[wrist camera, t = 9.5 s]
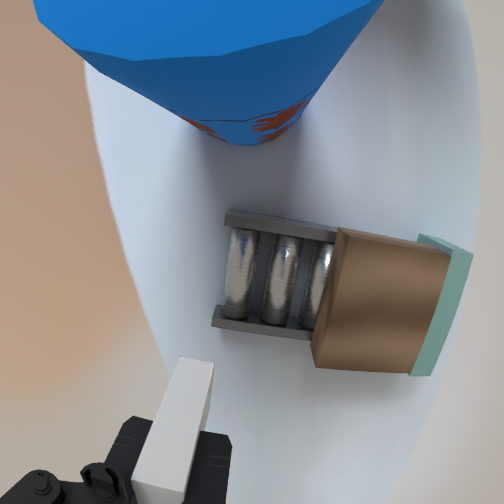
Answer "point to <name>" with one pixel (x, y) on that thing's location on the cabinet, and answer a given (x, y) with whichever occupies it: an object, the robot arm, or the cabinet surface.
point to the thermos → (215, 54)
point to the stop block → (443, 304)
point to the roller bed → (273, 275)
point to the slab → (377, 303)
